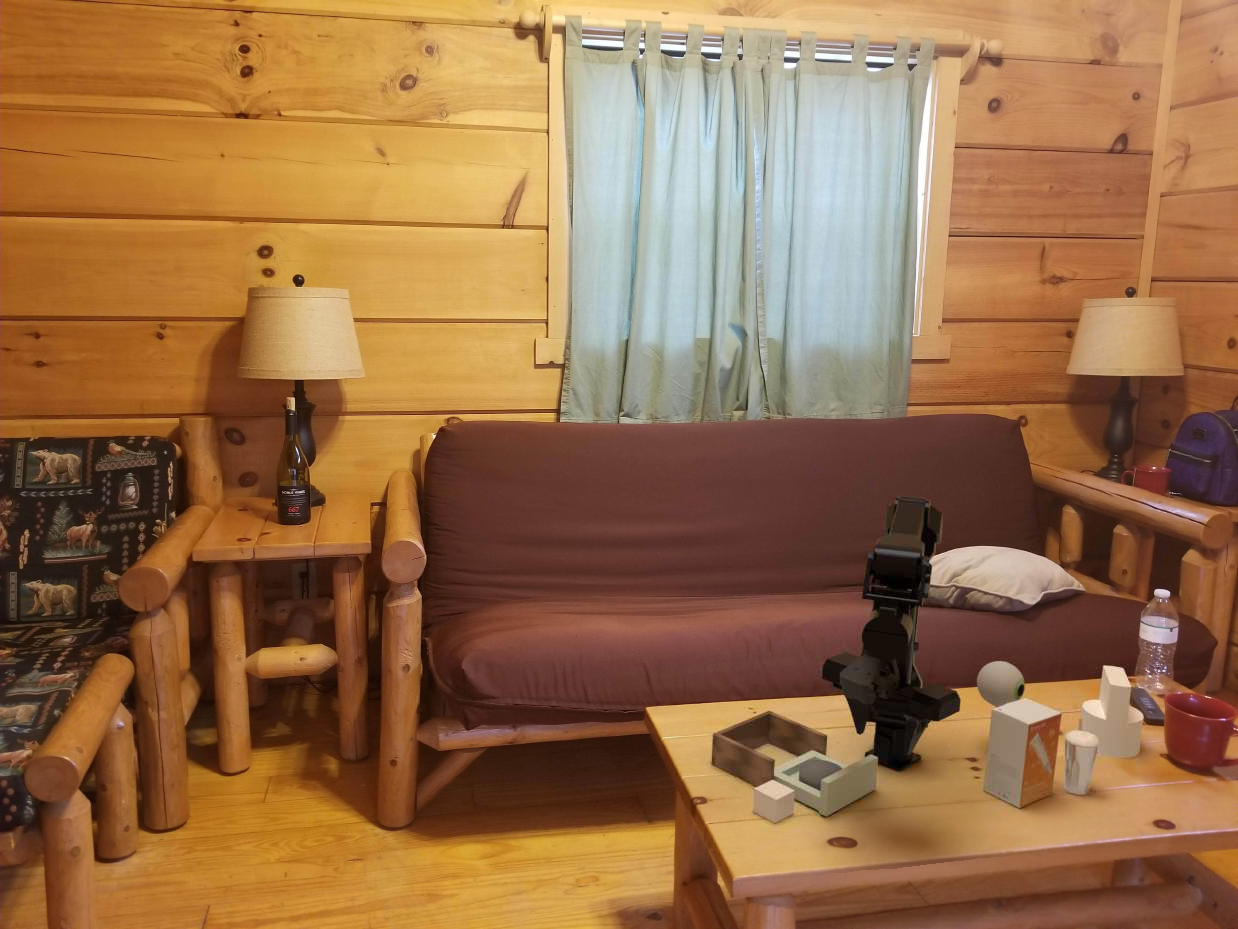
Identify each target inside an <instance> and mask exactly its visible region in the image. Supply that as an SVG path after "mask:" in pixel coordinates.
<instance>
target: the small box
mask: <svg viewBox="0 0 1238 929" xmlns="http://www.w3.org/2000/svg"><path fill="white" fill-rule="evenodd" d="M1061 722H1062V712H1060V711H1058V710H1055V709H1053V708H1051V707H1049V706H1046V705H1043V704H1042V703H1038V702H1036V701H1034V700H1031V699H1029V698H1027V697H1024V698H1021V699H1020V700H1017V701H1014V702H1010V703H1007V704H1005V705H1002V706H1000V707H997V708H996V707H994V708H991V715H990V723H989V724H990V725H989V734H988V743H987V752H986V753H987V754H986V762H985V771H984V779H983V780H984V782H983V788H982V789H983V790H982V791H984V792H986V793H987V794H990V795H991V796H994V797H996V798H998V799H999V800H1002V801H1003V802H1005V803H1008V804H1010V805H1012V806H1014V807H1016V808H1018V809H1022V808H1023V807H1025V806H1028V805H1029V804H1032V803H1034V802H1036V801H1039V800H1041V799H1044V798H1047V797H1048V796H1049V797H1050V796H1051V795H1052V794H1053V789H1054V788H1053V787H1054V779H1055V771H1056V762H1057V754H1058V746H1059V739H1060V738H1059V737H1060V730H1061Z"/></svg>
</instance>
